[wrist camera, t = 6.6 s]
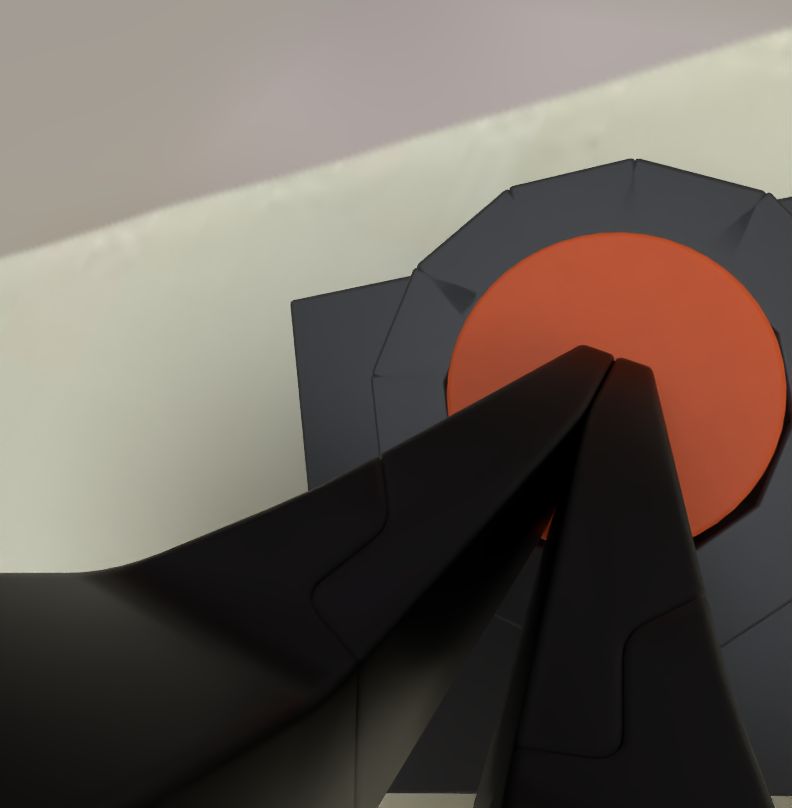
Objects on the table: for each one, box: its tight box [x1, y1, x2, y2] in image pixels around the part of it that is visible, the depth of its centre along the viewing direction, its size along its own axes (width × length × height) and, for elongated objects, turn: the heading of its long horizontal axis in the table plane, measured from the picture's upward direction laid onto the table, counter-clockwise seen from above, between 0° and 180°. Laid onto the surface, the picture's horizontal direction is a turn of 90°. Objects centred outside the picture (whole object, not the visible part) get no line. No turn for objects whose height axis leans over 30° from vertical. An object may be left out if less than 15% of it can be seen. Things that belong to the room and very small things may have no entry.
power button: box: [447, 232, 786, 540], centre depth 10 cm, size 4×4×3 cm
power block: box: [291, 159, 792, 796], centre depth 12 cm, size 10×11×6 cm
